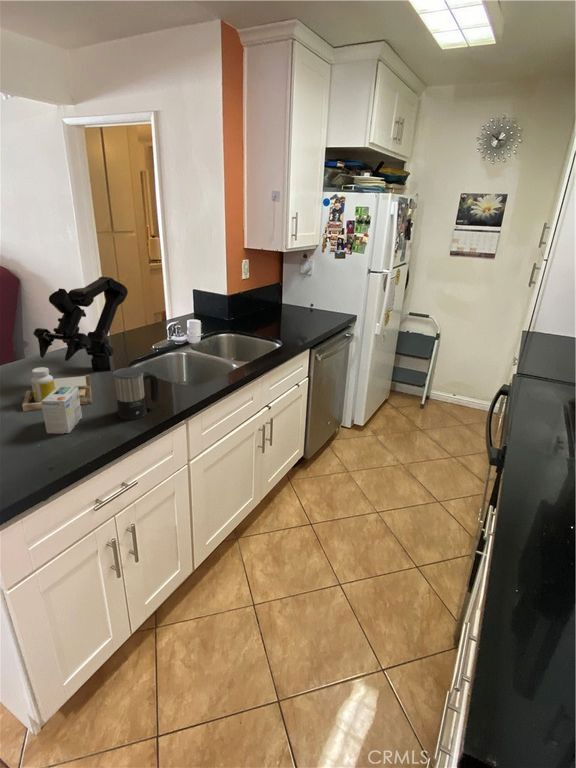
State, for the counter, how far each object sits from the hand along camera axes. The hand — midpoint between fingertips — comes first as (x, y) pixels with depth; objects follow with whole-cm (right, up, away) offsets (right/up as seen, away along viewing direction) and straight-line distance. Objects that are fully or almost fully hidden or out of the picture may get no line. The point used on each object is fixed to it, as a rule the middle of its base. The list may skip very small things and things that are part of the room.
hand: (53, 359), depth 142 cm
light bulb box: (+12, -21, -15) cm, 29 cm away
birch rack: (+2, -14, 0) cm, 14 cm away
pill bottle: (-2, -15, -1) cm, 15 cm away
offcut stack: (+6, -14, +3) cm, 16 cm away
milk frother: (+28, -17, -2) cm, 33 cm away
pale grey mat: (-1, -9, +12) cm, 15 cm away
